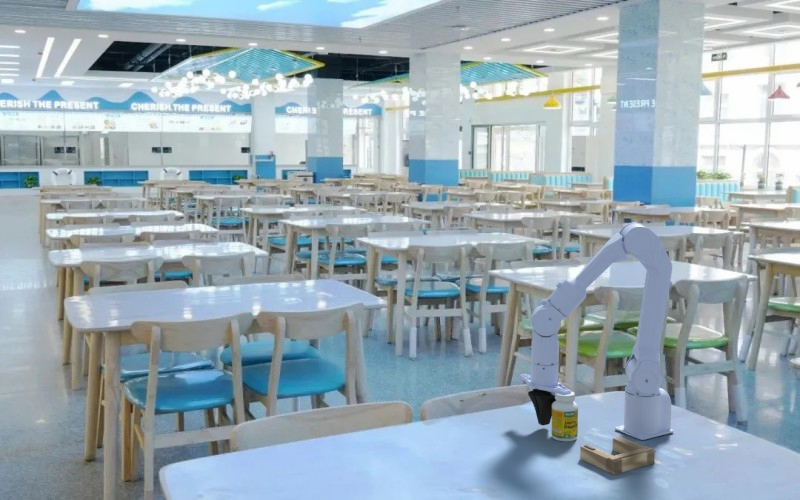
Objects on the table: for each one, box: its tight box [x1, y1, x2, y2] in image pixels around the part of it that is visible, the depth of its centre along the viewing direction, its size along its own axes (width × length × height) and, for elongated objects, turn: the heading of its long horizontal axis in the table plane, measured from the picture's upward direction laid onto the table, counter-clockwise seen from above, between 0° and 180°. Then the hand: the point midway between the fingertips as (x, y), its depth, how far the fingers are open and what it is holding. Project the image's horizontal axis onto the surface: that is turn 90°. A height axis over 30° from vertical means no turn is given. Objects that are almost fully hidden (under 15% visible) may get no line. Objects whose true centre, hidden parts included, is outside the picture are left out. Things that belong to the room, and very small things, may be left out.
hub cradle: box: [579, 436, 656, 475], centre depth 158 cm, size 10×9×3 cm
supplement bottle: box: [551, 390, 579, 443], centre depth 170 cm, size 5×5×10 cm
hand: (544, 423), depth 176 cm, fingers closed
